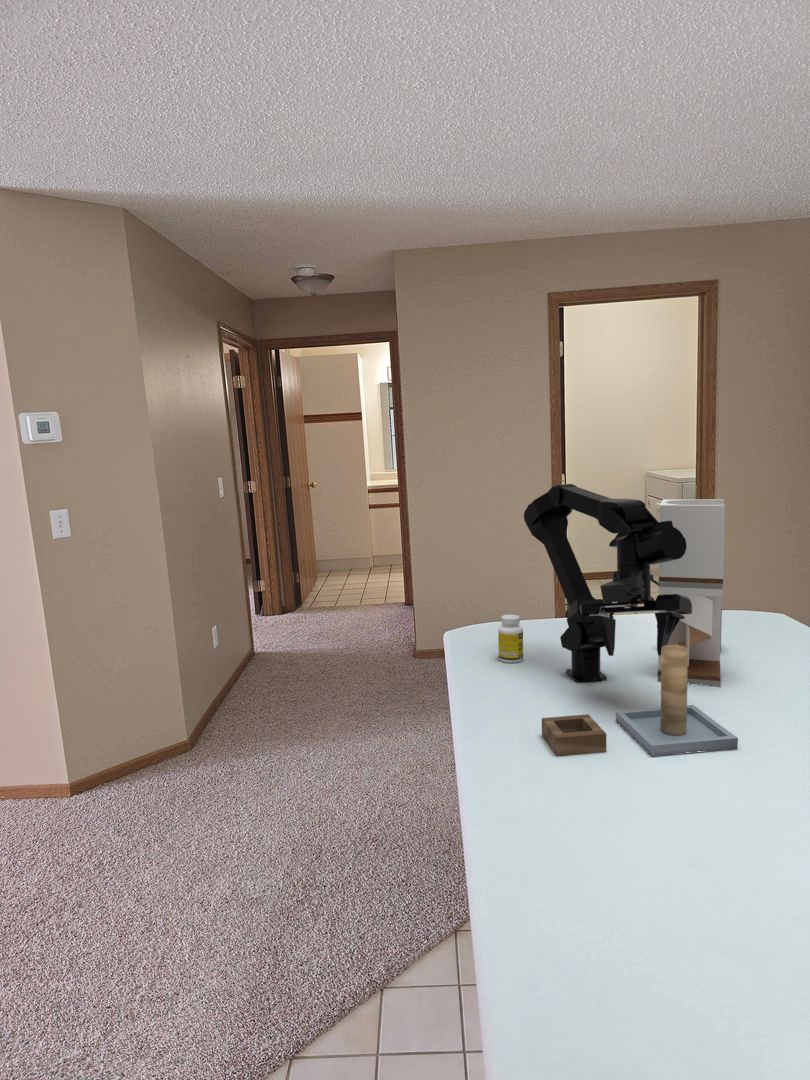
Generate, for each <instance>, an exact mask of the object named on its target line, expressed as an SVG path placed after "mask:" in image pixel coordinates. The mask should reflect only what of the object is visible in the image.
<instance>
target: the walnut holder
mask: <svg viewBox="0 0 810 1080" xmlns="http://www.w3.org/2000/svg"><path fill="white" fill-rule="evenodd" d="M541 736H542V737H543V739H544V741H545V742H546V743H547V745H548V746H549V747H550V749H551V750H552V752H553V753H554V754H555V756H556V757H562V756H574V755H584V754H598V753H605V752H607V733H606V731H605V730H603V728H602V727H601V726H600V725H599V724H598V723H597V722H596V721H595V720H594V719H593V717H591V715H590V714H588V713H586V714H575V715H562V716H550V717H541Z"/></svg>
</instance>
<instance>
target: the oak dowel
mask: <svg viewBox="0 0 810 1080" xmlns="http://www.w3.org/2000/svg"><path fill="white" fill-rule="evenodd" d="M687 668H688V649H687V648H686V647H684V646H679V645H665V646H662V647H661V682H660V708H661V732H663V733H664V734H667V735H671V736H682V735H685V734H686V731H687V706H688V684H687Z"/></svg>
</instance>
